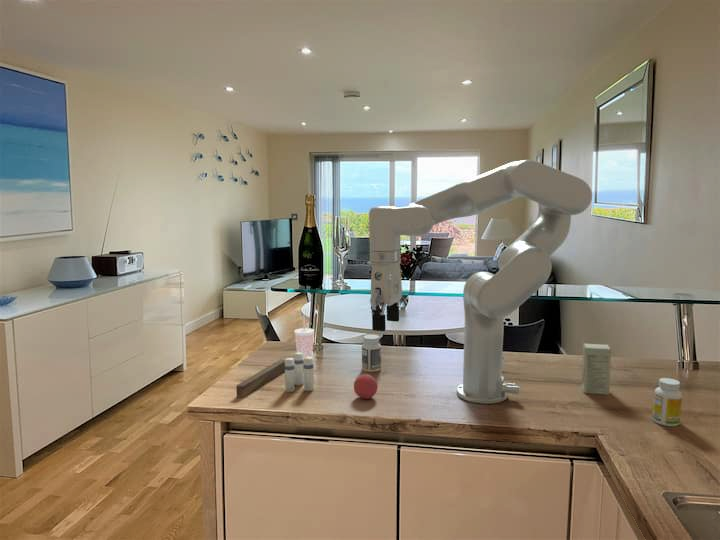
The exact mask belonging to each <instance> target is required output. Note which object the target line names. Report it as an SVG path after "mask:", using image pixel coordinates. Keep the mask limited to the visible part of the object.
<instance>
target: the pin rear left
mask: <svg viewBox="0 0 720 540" xmlns="http://www.w3.org/2000/svg"><path fill="white" fill-rule="evenodd" d="M284 360H285V371H284V381H285V383H284V386H285V390H284V391H285V392H286V393H292V392H295V387H296V385H295V375H294V357H286V358H284Z"/></svg>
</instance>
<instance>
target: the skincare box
mask: <svg viewBox="0 0 720 540" xmlns="http://www.w3.org/2000/svg"><path fill="white" fill-rule="evenodd" d="M582 345H583V346H582V367H581V368H582V370H581V389H582V392H583V393H584V394H593V395H595V394H596V395H598V394H599V395H610V389H611V388H610V385H611V381H610V380H611V364H612V363H611V358H612V356H611V355H612V349H611V346H610V345H609V344H604V343H603V344H601V343H600V344H599V343H583V344H582Z"/></svg>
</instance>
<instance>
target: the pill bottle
mask: <svg viewBox="0 0 720 540" xmlns="http://www.w3.org/2000/svg"><path fill="white" fill-rule="evenodd" d="M362 341H363V344H362V345H361V369H362V370H363V371H364V372H366V373H367V372H368V373H376V372H379V371H381V369H382V345H381V344H380V336H379V335H377V334H365V335H363V339H362Z"/></svg>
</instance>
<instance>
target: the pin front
mask: <svg viewBox="0 0 720 540" xmlns="http://www.w3.org/2000/svg"><path fill="white" fill-rule="evenodd" d="M303 379H304V384H303V386H304V391H306V392H312V391H314V389H315V388H314V357H313V356H312V357H305V358H304V361H303Z"/></svg>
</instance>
